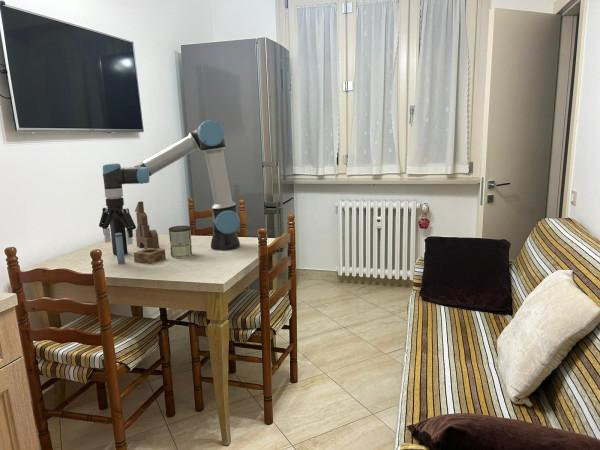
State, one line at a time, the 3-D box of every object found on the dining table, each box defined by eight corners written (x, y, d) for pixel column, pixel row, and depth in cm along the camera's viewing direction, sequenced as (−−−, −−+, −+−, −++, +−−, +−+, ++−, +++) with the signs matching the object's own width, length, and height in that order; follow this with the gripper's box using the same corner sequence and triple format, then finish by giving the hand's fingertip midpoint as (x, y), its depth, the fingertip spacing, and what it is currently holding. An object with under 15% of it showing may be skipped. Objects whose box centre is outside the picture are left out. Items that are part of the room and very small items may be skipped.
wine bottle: (122, 251, 223) (116, 194, 217) (128, 253, 219) (122, 194, 214) (112, 254, 219) (105, 195, 213) (118, 255, 215) (111, 196, 209)
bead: (165, 258, 208) (164, 249, 207) (151, 263, 199) (150, 254, 198) (149, 256, 212) (148, 247, 211) (134, 262, 203) (133, 252, 202)
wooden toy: (160, 248, 229) (155, 201, 224) (147, 250, 225) (143, 202, 220) (147, 243, 240) (143, 199, 235) (135, 245, 236) (130, 200, 231)
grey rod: (126, 262, 203) (123, 233, 200) (121, 264, 200) (118, 234, 197) (121, 261, 204) (118, 232, 201) (116, 263, 201) (113, 234, 198)
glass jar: (167, 255, 212) (164, 227, 210) (185, 251, 220) (183, 224, 217) (177, 259, 205) (175, 230, 203) (196, 255, 212) (194, 227, 210)
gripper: (141, 197, 195) (145, 243, 199) (101, 195, 204) (105, 239, 208) (129, 199, 188) (133, 247, 192) (87, 197, 198) (92, 242, 202)
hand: (118, 243), depth 200 cm, fingers open, 13 cm apart
